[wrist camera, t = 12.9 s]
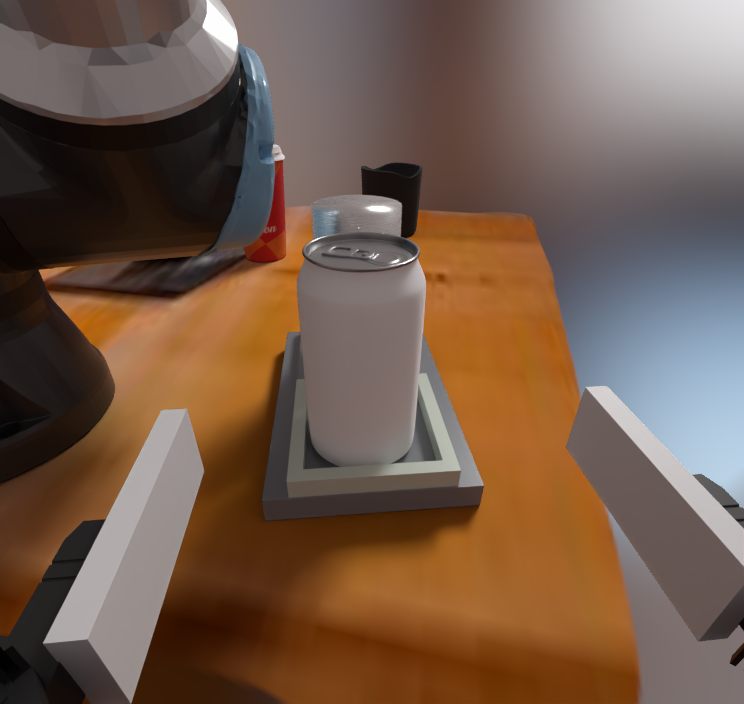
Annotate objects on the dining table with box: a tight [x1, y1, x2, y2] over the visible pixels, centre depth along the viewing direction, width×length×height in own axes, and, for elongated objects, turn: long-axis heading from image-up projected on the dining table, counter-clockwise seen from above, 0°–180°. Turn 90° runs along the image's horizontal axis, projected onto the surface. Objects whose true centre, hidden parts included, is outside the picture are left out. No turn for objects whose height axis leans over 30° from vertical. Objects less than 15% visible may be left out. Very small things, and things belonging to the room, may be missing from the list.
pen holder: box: [361, 163, 422, 237], centre depth 69 cm, size 9×9×10 cm
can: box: [297, 232, 426, 467], centre depth 24 cm, size 6×6×12 cm
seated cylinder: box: [311, 195, 402, 240], centre depth 31 cm, size 6×6×12 cm
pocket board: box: [262, 332, 484, 521], centre depth 31 cm, size 12×18×3 cm, turn 5°
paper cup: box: [244, 145, 286, 262], centre depth 57 cm, size 8×8×14 cm
